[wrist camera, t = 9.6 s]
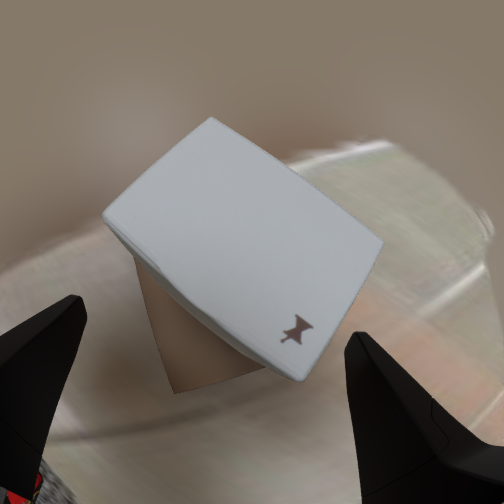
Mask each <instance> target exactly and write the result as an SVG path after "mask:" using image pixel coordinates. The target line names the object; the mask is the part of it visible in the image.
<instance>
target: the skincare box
mask: <svg viewBox="0 0 504 504" xmlns="http://www.w3.org/2000/svg"><path fill="white" fill-rule="evenodd" d="M102 218H103V220H104V222H105V223H106V225H107V226H108V227H109V228H110V230H111V231H112V232H113V233H114V234H115V235H116V237H117V238H118V239H119V240H120V241H121V243H122V244H123V245H124V246H125V247H126V248H127V250H128V251H129V252H130V253H131V254H132V255H133V257H134V258H135V259H136V260H137V261H138V262H139V263H140V264H141V266H142V267H143V268H144V269H145V270H146V271H147V272H148V273H149V274H150V275H151V276H152V277H153V278H154V279H155V280H156V281H157V283H158V284H159V285H160V286H161V287H162V288H163V289H164V290H165V291H166V292H167V293H168V294H169V295H170V296H171V297H172V298H173V299H174V300H175V301H176V302H177V303H178V304H180V305H181V306H182V307H183V308H184V309H185V310H186V311H187V312H189V313H190V314H191V315H192V316H193V317H195V318H196V319H197V320H198V321H200V322H201V323H202V324H203V325H205V326H206V327H207V328H208V329H210V330H211V331H212V332H214V333H215V334H216V335H217V336H219V337H220V338H221V339H223V340H224V341H225V342H227V343H228V344H229V345H231V346H232V347H233V348H235V349H236V350H237V351H239V352H240V353H241V354H243V355H245V356H247V357H249V358H251V359H252V360H254V361H256V362H258V363H260V364H262V365H263V366H265V367H267V368H269V369H271V370H273V371H274V372H276V373H278V374H280V375H282V376H284V377H286V378H289V379H291V380H294V381H297V382H302V381H304V380H305V379H306V377H307V376H308V374H309V373H310V371H311V370H312V368H313V367H314V365H315V364H316V362H317V361H318V359H319V358H320V356H321V355H322V353H323V352H324V350H325V348H326V347H327V345H328V344H329V342H330V341H331V339H332V337H333V336H334V334H335V333H336V331H337V329H338V328H339V326H340V324H341V323H342V321H343V319H344V318H345V316H346V314H347V313H348V311H349V309H350V307H351V306H352V304H353V302H354V300H355V299H356V297H357V295H358V293H359V292H360V290H361V288H362V286H363V284H364V282H365V281H366V279H367V277H368V275H369V273H370V271H371V269H372V268H373V266H374V264H375V262H376V260H377V258H378V256H379V254H380V252H381V250H382V248H383V246H384V242H383V240H382V239H381V238H380V237H379V236H377V235H376V234H375V233H374V232H373V231H371V230H370V229H369V228H368V227H367V226H365V225H364V224H363V223H362V222H360V221H359V220H358V219H357V218H356V217H354V216H353V215H352V214H351V213H349V212H348V211H347V210H346V209H344V208H343V207H342V206H341V205H339V204H338V203H337V202H336V201H334V200H333V199H332V198H330V197H329V196H328V195H326V194H325V193H324V192H322V191H321V190H320V189H318V188H317V187H316V186H314V185H313V184H312V183H310V182H309V181H308V180H306V179H305V178H303V177H302V176H301V175H299V174H298V173H296V172H295V171H294V170H292V169H291V168H289V167H288V166H286V165H285V164H283V163H282V162H281V161H279V160H278V159H276V158H275V157H273V156H272V155H270V154H269V153H267V152H266V151H264V150H263V149H261V148H260V147H258V146H257V145H255V144H254V143H252V142H251V141H249V140H248V139H246V138H245V137H243V136H241V135H240V134H238V133H237V132H235V131H233V130H232V129H230V128H229V127H227V126H226V125H224V124H222V123H221V122H219V121H218V120H216V119H215V118H212V117H210V118H208V119H207V120H205V121H204V122H203V123H202V124H201V125H199V126H198V127H197V128H196V129H195V130H193V131H192V132H191V133H190V134H188V135H187V136H186V137H185V138H184V139H182V140H181V141H180V142H179V143H177V144H176V145H175V146H174V147H173V148H171V149H170V150H169V151H168V152H167V153H166V154H164V155H163V156H162V157H161V158H160V159H158V160H157V161H156V162H155V163H154V164H153V165H152V166H150V167H149V168H148V169H147V170H146V171H145V172H144V173H143V174H142V175H141V176H139V177H138V178H137V179H136V180H135V181H134V182H133V183H132V184H131V185H130V186H129V187H128V188H127V189H126V190H125V191H124V192H123V193H122V194H120V195H119V197H117V198H116V199H115V200H114V201H113V202H112V203H111V204H110V205H109V206H108V207H107V208H106V209H105V210H104V211H103V213H102Z"/></svg>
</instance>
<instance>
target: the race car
mask: <svg viewBox="0 0 504 504" xmlns="http://www.w3.org/2000/svg"><path fill="white" fill-rule="evenodd" d="M42 483H43V481H42V478H41V476H40V475H39V473H38V476H37V481H36V486H35V491H34V496H33V500H32V502H31V501H28V500H26V499H24V498H22V497H20V496H18V495H16V494H14V493H12V492H10V491H7V496H8V498H9V500H10V502H11V504H35V501H36V499H37V496H38V494H39V491H40V490H39V489H40V488H41V487H42V486H41V485H42Z"/></svg>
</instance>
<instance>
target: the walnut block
mask: <svg viewBox="0 0 504 504" xmlns="http://www.w3.org/2000/svg"><path fill="white" fill-rule="evenodd" d="M134 260H135V264H136V269H137V273H138V277H139V282H140V286H141V290H142V294H143V297H144V301H145V305H146V309H147V312H148V316H149V319H150V323H151V326H152V330H153V333H154V336H155V340H156V343H157V346H158V349H159V352H160V355H161V358H162V361H163V364H164V367H165V370H166V373H167V376H168V378H169V381H170V384H171V387H172V389H173V392H174V394H177V393H181V392H185V391H189V390H193V389H196V388H200V387H204V386H207V385H211V384H214V383H218V382H221V381H225V380H228V379H231V378H234V377H238V376H241V375H244V374H247V373H250V372H253V371H256V370H259V369H262V368H265V366H263V365H262V364H260V363H258V362H256V361H254V360H252V359H251V358H249V357H247V356H245V355H243V354H241V353H240V352H239V351H237V350H236V349H235V348H233V347H232V346H231V345H229V344H228V343H227V342H225V341H224V340H223V339H221V338H220V337H219V336H217V335H216V334H215V333H214V332H212V331H211V330H210V329H208V328H207V327H206V326H205V325H203V324H202V323H201V322H200V321H198V320H197V319H196V318H195V317H193V316H192V315H191V314H190V313H189V312H187V311H186V310H185V309H184V308H183V307H182V306H181V305H180V304H178V303H177V302H176V301H175V300H174V299H173V298H172V297H171V296H170V295H169V294H168V293H167V292H166V291H165V290H164V289H163V288H162V287H161V286H160V285H159V284H158V283H157V281H156V280H155V279H154V278H153V277H152V276H151V275H150V274H149V273H148V272H147V271H146V270H145V269H144V268H143V267H142V266H141V264H140V263H139V262H138V261H137V260H136V259H135V258H134Z"/></svg>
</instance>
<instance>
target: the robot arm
mask: <svg viewBox="0 0 504 504" xmlns="http://www.w3.org/2000/svg"><path fill="white" fill-rule="evenodd" d="M86 322H87V312H86V309H85V305H84V302H83V299H82V297H80V296H77V295H69V296H67V297H65V298H64V299H62V300H60V301H58V302H57V303H55V304H53V305H51V306H50V307H48V308H46V309H44V310H43V311H41V312H39V313H38V314H36V315H34V316H33V317H31V318H29V319H27V320H26V321H24V322H22V323H21V324H19V325H17V326H16V327H14V328H13V329H11V330H9V331H8V332H6V333H4V334H3V335H1V336H0V504H11V502H10V500H9V498H8V496H7V491H10V492H12V493H14V494H16V495H18V496H20V497H22V498H24V499H26V500H28V501H31V502H32V500H33V496H34V491H35V486H36V481H37V476H38V472H39V467H40V463H41V459H42V454H43V451H44V447H45V443H46V440H47V436H48V433H49V429H50V426H51V423H52V420H53V417H54V414H55V411H56V408H57V405H58V402H59V399H60V396H61V393H62V391H63V388H64V385H65V383H66V380H67V377H68V375H69V372H70V370H71V367H72V365H73V362H74V360H75V357H76V354H77V351H78V347H79V344H80V341H81V338H82V335H83V331H84V328H85V325H86ZM344 358H345V371H346V386H347V396H348V402H349V408H350V414H351V420H352V426H353V433H354V439H355V446H356V454H357V461H358V469H359V478H360V487H361V497H362V504H504V446H494V445H489V444H487V443H485V442H483V441H481V440H480V439H479V438H477V437H476V436H475V435H474V434H473V433H471V432H470V431H469V430H468V429H467V428H465V427H464V426H463V425H462V424H461V423H460V422H458V421H457V420H456V419H455V418H454V417H453V416H452V415H450V414H449V413H448V412H447V411H446V410H445V409H444V408H443V407H442V406H441V405H440V404H439V403H438V402H437V401H436V400H435V399H434V398H432V396H431V395H430V394H429V393H428V392H427V391H426V390H425V389H424V388H423V387H422V386H421V385H420V384H419V383H418V382H417V381H416V380H415V379H414V378H413V377H412V376H411V375H410V374H409V373H408V372H407V371H406V370H405V369H404V368H403V367H402V366H400V365H399V364H398V363H397V362H396V361H395V360H394V359H393V358H392V357H391V356H390V355H389V354H388V353H387V352H386V351H385V350H384V349H383V348H382V347H381V346H380V345H379V344H378V343H377V342H376V341H375V340H374V339H373V338H372V337H371V336H370V335H369V334H367V333H366V332H358V331H356V332H354V333H353V334H352V336H351V338H350V340H349V342H348V343H347V345H346V347H345V351H344Z"/></svg>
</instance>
